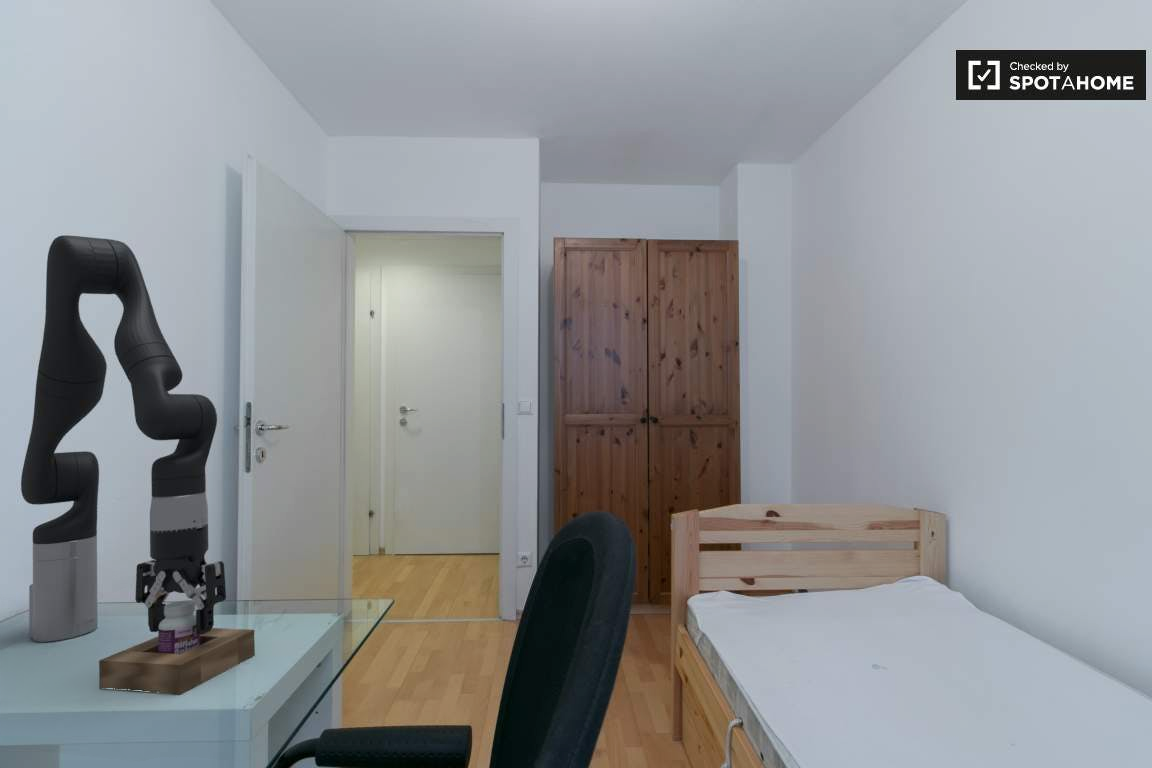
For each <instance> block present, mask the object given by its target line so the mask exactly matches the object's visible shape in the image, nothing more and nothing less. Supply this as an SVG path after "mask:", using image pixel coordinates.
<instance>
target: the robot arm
mask: <svg viewBox="0 0 1152 768" xmlns="http://www.w3.org/2000/svg"><path fill="white" fill-rule="evenodd" d="M142 273H143V272H142V270H141V267H140V265H139V262H138V260H137V257H136V255H135V253H134V252H133V251H132V249H131V248H130V247H129V246H128V244H126V243H125V242H122V241H119V240H116V239H110V238H99V237H89V236H80V235H65V234H64V235H58V236H57V237H55V238H54V239H53V241H52V242H51V244H50V246H49V248H48V253H47V261H46V280H45V281H46V284H45V288H46V289H45V317H44V318H45V320H44V328H43V336H42V343H41V350H40V356H39V361H38V365H37V367H38V368H37V375H36V382H35V396H34V408H33V415H32V417H33V418H32V424H31V430H30V435H29V440H28V444H27V449H26V451H25V452H26V453H25V456H24V461H23V467H22V471H21V477H20V487H21V488H20V491H21V496H22V498H23V500H24V501H25V502H26V503H28V504H30V505H37V506H38V505H48V504H49V505H51V504H59V503H61V504H62V503H69V502H73V504H72V506H71V507H70V509H69V510H66V512H64V513H63V514H61V515H59V516H58V517H56V518H52V519H51V520H49V521H46V522H44V523H40V524H39V525H36V526H35V528H33V529H32V530H33V531H32V583H31V584H30V585H29V587H28V588H29V589H28V595H29V596H28V599H29V600H28V603H29V604H28V607H29V608H28V610H29V611H28V614H29V615H28V618H29V619H28V620H29V625H28V627H29V628H28V630H29V632H28V633H29V634H28V635H29V636H28V637H29V638H30V639H32V640H33V641H34V642H39V643H40V642H41V643H43V642H56V641H61V640H67V639H71V638H75V637H79V636H81V635H82V636H83V635H85V634H88V633H91V632H93V631H95V630H96V629H97V628H98V501H99V482H100V466H99V461H98V460H99V459H97V456H96V455H95V454H94V453H93V452H92V451H87V450H86V451H84V450H83V451H69V452H68V451H66V452H56V450H57V447H59V444H60V443H61V441H62V439H64V437H65V436H67V434H68V433H69V432H70V431H71V430H72V429H73V428H74V427H75V426H77V425H78V424H79V423H80V422H81V421H82V420H83V419H85V417H87V416H88V415H89V414H90V413H91V412H92V411H93V409H95V407H96V406H97V405H98V404H99V403H100V401H101V399H102V397H103V393H104V388H105V382H106V377H107V376H106V375H107V370H108V369H107V367H108V366H107V360H106V358H105V355H104V353H103V352H102V350H101V349H100V346H98V344H97V343H96V341H95V340H94V338H93V337H92V336H91V334H90V332H88V330H87V329H86V326H85V325H84V323H83V321H82V319H81V314H80V305H79V304H80V298H81V297H82V294H83V295H84V294H88V295H89V294H90V295H115V296H116V297H117V298H118V299H119V301H120V302H121V305H122V307H123V308H122V310H123V312H122V315H121V318H120V321H119V323H118V326H117V329H116V332H115V335H114V341H113V342H114V343H113V344H114V346H113V347H114V352H115V353H114V354H115V356H116V358H117V360H118V362H119V364H120V366H121V368H122V370H123V372H124V373H125V375H126V378H127V380H128V381H129V383H130V387H131V392H132V393H131V394H132V401H133V410H134V419H135V424H136V426H137V428H138V430H140V432H141V433H142V434H143V435H144V436H146V437H147V438H148V439H151V440H154V441H172V440H173V441H174V440H175V441H176V440H178V443H177V445H176V447H175V450H174V451H173V452H172V453H171V454H168V455H166V456H162V457H159V458H157V459H156V460H154V461H153V462H152V465H151V475H150V476H151V478H150V479H151V482H150V483H151V501H150V508H149V509H150V510H149V556H150V558H151V560H148V561H144V562H140V563H138V564H137V565H136V576H135V579H136V580H135V598H134V599H135V602H136V603H138V604H140V603H143V604H144V605H145V607H146V608H147V617H148V618H147V624H148V628H149V631H150V632H151V633H158V628H159V624H160V622H161V621H162V620H163V619H165V618H166V617H165V615H164V606H165V605H167V604H166V603H165V601H166V600H167V599H168V597H169V596H170V593H174V592H175V593H178V594H185V596H186V597H187V598H188V599H190V600H192V601H193V602H194V603H195V607H196V608H197V609H195V614H196V633H197V634H205V633H207V632H209V631H211V629H212V628H214V624H215V623H214V622H215V621H214V616H215V615H214V614H215V613H214V608H215V605H216V604H218V603H221V602H224V601H226V599H227V592H226V591H227V590H226V589H227V588H226V576H225V575H226V574H225V564H224V562H223V561H220V560H219V561H216V562H212V563H207V561H206V557H205V556H206V553H207V551H208V550H209V507H208V500H207V493H206V491H207V488H206V486H207V485H206V484H207V483H206V480H207V479H206V466H207V461H208V457H209V455H210V451H211V447H212V443H213V440H214V436H215V434H216V428H217V424H218V417H217V416H218V414H217V410H216V407H215V405H214V403H213V402H212V401H211V399H210V398H209V397H207V396H205V395H203V394H195V393H191V394H189V393H188V394H187V393H169V392H170V391H171V390H174V389H175V388H176V387H178V386H179V385H180V384H181V382H182V380H183V372H182V369H181V366H180V364H179V362H178V361H177V359H176V357H175V355H174V353H173V351H172V350H171V347H169V344H168V343H167V340H166V339H165V337H164V334H163V333H162V331H161V328H160V326H159V323H158V320H157V318H156V314H155V311H154V307H153V304H152V301H151V297H150V294H149V291H148V288H147V286H146V283H145V279H144V277H143V274H142ZM145 591H146V592H145Z"/></svg>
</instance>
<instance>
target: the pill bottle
mask: <svg viewBox="0 0 1152 768" xmlns="http://www.w3.org/2000/svg"><path fill="white" fill-rule="evenodd" d="M194 612H196V605H195V603H194V602H193V600H192V599H190V600H189V599H188V600H186V599H185V600H180V601H174V602H170V603H168V604H166V605H165V606H164V615H165V617H166V618H165V619H163V620H162V621H161V622H160V624H159V628H158V631H157V633H158V634H157V635H158V636H157V637H158V653H168V654H182V653H184V652H186V651H189V650H191V649H193V648H195V647H197V646H200V634H197V633H196V613H194Z"/></svg>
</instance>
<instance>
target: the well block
mask: <svg viewBox="0 0 1152 768" xmlns="http://www.w3.org/2000/svg"><path fill="white" fill-rule="evenodd" d="M255 641H256V640H255V629H247V628H246V629H243V628H223V627H222V628H221V627H212V629H211V631H209V632H207V633H205V634H200V646H197V647H195V648H193V649H191V650H189V651H186V652H184V653H182V654H168V653H158V636H156V637H153V638H151V639H149V640H146V641H144V642H141V643H139V644H135V645H133V646H131V647H129V648H126V649H124V650H121V651H119V652H117V653H114V654H111V655H109V656H106V657H104V658H101V659H100V660H98V670H99V671H98V673H99V675H98V678H99V679H98V682H99V684H98V685H99V687H98V688H113V689H114V688H115V689H127V690H128V689H130V690H142V691H150V692H159V693H158V694H164V693H167V694H166V695H182V694H184V693H186V692H188V691H191V690H192V689H194V688H196V687H197V686H200V685H202V684H203V683H205V682H207V681H209V680H211V679H213V678H215V677H217V676H218V675H220V674H222V673H224V672H225V671H226V672H227V671H228V670H230V669H232V668H234V667H235V666H237V665H239V664H241V663H243V662H245V661H247V660H249V659H250V658H253V657H254V656H255V654H256V653H255V652H256V651H255V650H256V649H255V648H256V647H255V646H256V645H255V644H256V643H255ZM150 692H149V693H150Z"/></svg>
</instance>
